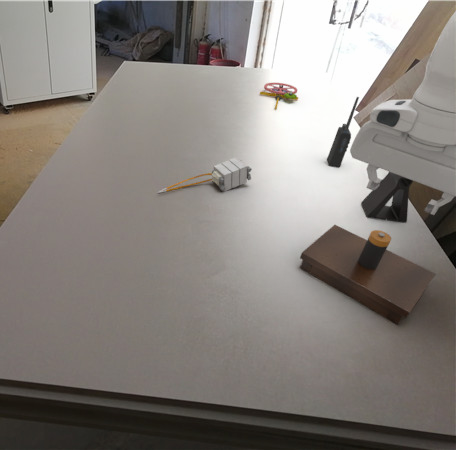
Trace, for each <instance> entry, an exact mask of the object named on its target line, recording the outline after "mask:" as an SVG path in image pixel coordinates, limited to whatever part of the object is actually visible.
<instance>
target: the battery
mask: <svg viewBox="0 0 456 450" xmlns="http://www.w3.org/2000/svg"><path fill="white" fill-rule="evenodd" d="M366 240H367V242H366V244H365V246H364V248H363V250H362V253H361V255H360V257H359V259H358V262H359V264H360V265H362V266H363V267H365V268H368V269H375V268H377V266H378V264H379V262H380V260H381V258H382V256H383V255H384V253H385V251H386V250H388V247H389V245H390V244H391V241H392V236H391V235H390V234H388V233H387V232H385V231H383V230H378V229H375V230H372V231H371V232H370V233H369V235H368V238H367V239H366Z"/></svg>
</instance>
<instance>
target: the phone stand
mask: <svg viewBox="0 0 456 450" xmlns="http://www.w3.org/2000/svg"><path fill="white" fill-rule="evenodd" d="M381 180H382V181H381V183H380V184H379V185H380V186H379V188H378V189H377V190H376V191H373V190H371V191H370V192H369V194H368V195H367V196H365V198H364V199H363V200H362V201H361V203H360V204H361V207H362V209H363V211H364V213H365V215H366V217H367V218H368V219H375V220H382V221H390V222H398V223H404V222H405V223H407V222H408V210H409V193H410V187H411V185H412V184H413V183H414V181H413V180H410V179H408V178H405V177H402V176H400V175H397V174H394V173H392V172H389V171H388V172H387V174H386V175H385V177H384V178H382V179H381ZM391 199H392V200H391ZM389 201H391V205H388V203H389Z"/></svg>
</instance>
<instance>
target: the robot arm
mask: <svg viewBox="0 0 456 450" xmlns="http://www.w3.org/2000/svg"><path fill="white" fill-rule="evenodd" d="M349 153H350V155H351V158H352V159H355V160H357V161H359V162H362V163H364V164H367V167H366V174H367V178H368V182H367V185H366V189H368V190H371V191H372V190H373V191H376V190H377V189H378V188H379V186H380V185H379V184H380V183H381V181H382V180H383V179H381V178H379V177H378V172H377V170H379V169H381V170H384V171H386V172H388V173H389V172H392V173H394V174H397V175H400V176H402V177H405V178H408V179H410V180H413V182H415V183H418V184H422V185H424V186H427V187H429V188H432V189H435V190H438V191H439V192H442V195H441V198H440V199H438V200H435V199H432V198H431V200H430V201H429V202H428V203H427V204H426V207H425V208H424V209H423V212H425V213H427V214H429V215H432V216H435V214H436V213H437V212H438V210H439V208H440V207H442V206H444V205H447V204H448V203H451V201H452V200H453V199H454V198H455V197H456V10H455V11H454V13H453V14H452V15H451V16H450V18H449V19H448V21H447V22H446V24H445V26H444V27H443V29H442V31H441V33H440V34H439V37H438V39H437V41H436V43H435V44H434V46H433V49H432V51H431V54H430V56H429V58H428V60H427V63H426V65H425V73H424V77H423V80H422V82H421V83H420V85H419V86H418V88H417V89H416V90H415V92H414V93H413V95H412V98H411V99H410V98H409V99H389V100H386V101H384V102H382V103H379V104H378V105H376V106H375V107H374V108H373V109H372V110H371V111H370V114H369V120H368V121H366V122H365V123H363V124H362V126H360V127H359V130H358V131H357V133H356V135H355V137H354V139H353V141H352V143H351V146H350V150H349Z"/></svg>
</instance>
